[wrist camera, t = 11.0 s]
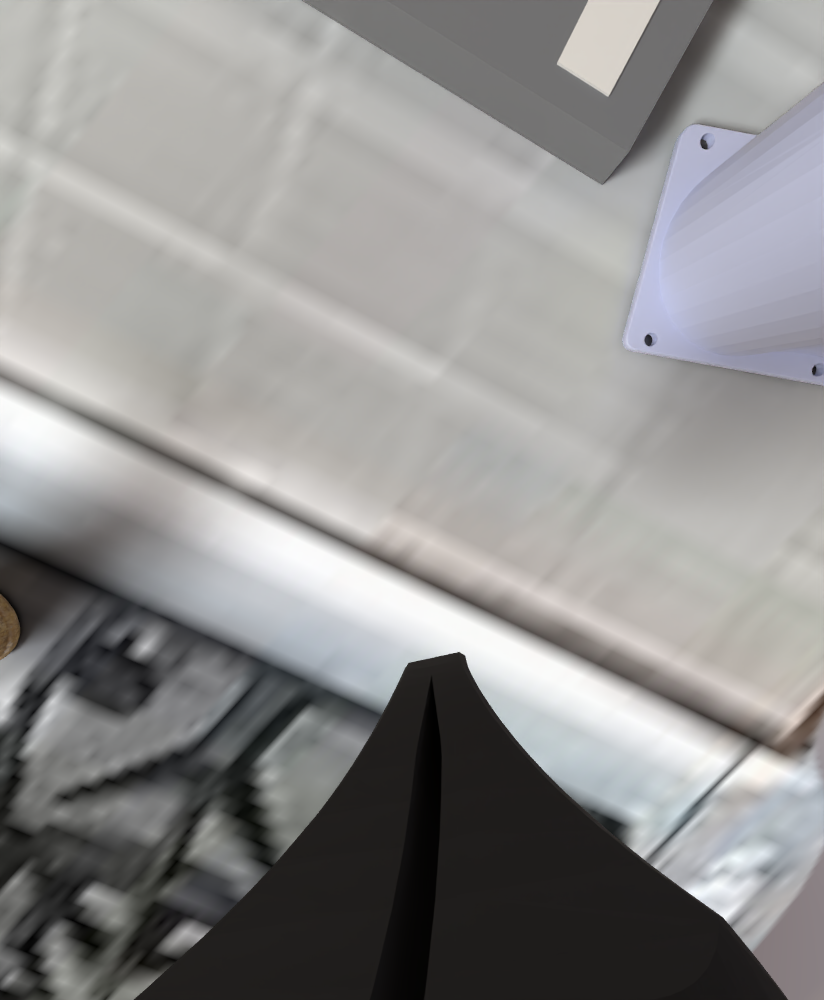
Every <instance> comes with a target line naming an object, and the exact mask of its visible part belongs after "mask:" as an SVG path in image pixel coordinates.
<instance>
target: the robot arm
mask: <svg viewBox="0 0 824 1000" xmlns="http://www.w3.org/2000/svg"><path fill="white" fill-rule="evenodd" d="M702 139H703V140H705V141H706V142H707V144H708V149H706V150H705V149H703V148H702V147H701V145H700V140H702ZM647 334H648V335H650V336H651V337H652V343H651V345H650V346H647V345H646V344H645V342H644V338H645V336H646V335H647ZM622 342H623V345H624V347H625V348H626V349H627V350H630V351H633V352H638V353H644V354H650V355H655V356H661V357H666V358H672V359H677V360H683V361H688V362H694V363H699V364H705V365H711V366H716V367H722V368H727V369H733V370H738V371H744V372H749V373H755V374H760V375H766V376H772V377H777V378H783V379H788V380H794V381H799V382H805V383H810V384H816V385H821V386H824V82H823V83H822V84H820V85H819V86H818V87H817V88H816V89H814V90H813V91H812V92H811V93H809V94H808V95H807V96H806V97H804V98H803V99H802V100H801V101H799V102H798V103H797V104H796V105H794V106H793V107H792V108H791V109H789V110H788V111H787V112H786V113H784V114H783V115H782V116H781V117H780V118H778V119H777V120H776V121H775V122H773V123H772V124H771V125H770V126H768V127H767V128H766V129H765V130H763V131H762V132H761V133H760V134H758V135H755V134H749V133H744V132H739V131H733V130H728V129H723V128H717V127H712V126H707V125H701V124H692V125H690V126H688V127H686V128H685V130H684V131H683V132H682V133H681V134H680V135H679V136H678V138H677V140H676V142H675V146H674V149H673V153H672V157H671V160H670V164H669V168H668V172H667V175H666V179H665V183H664V186H663V190H662V194H661V197H660V201H659V205H658V208H657V212H656V216H655V220H654V223H653V227H652V231H651V234H650V238H649V242H648V245H647V249H646V253H645V256H644V260H643V264H642V268H641V271H640V275H639V279H638V282H637V286H636V290H635V293H634V297H633V301H632V304H631V308H630V312H629V316H628V319H627V323H626V327H625V330H624V334H623V341H622ZM814 365H815V366H816V368H817V369H816V373H815V374H814V375H813V374H812V368H813V367H814ZM134 1000H788V999H787V998H786V996H785V995H784V993H783V992H782V991H781V990H780V988H779V987H778V985H777V984H776V983H775V982H774V980H773V979H772V978H771V976H770V975H769V974H768V972H767V971H766V970H765V969H764V967H763V966H762V965H761V964H760V962H759V961H758V960H757V958H756V957H755V956H754V955H753V953H752V952H751V951H750V950H749V949H748V947H747V946H746V945H745V944H744V942H743V941H742V940H741V939H740V937H739V936H738V935H737V934H736V933H735V931H734V930H733V929H732V928H731V927H730V925H729V924H728V923H727V922H726V921H725V919H724V918H723V917H721V916H720V915H719V914H717V913H716V912H715V911H713V910H712V909H710V908H709V907H707V906H706V905H705V904H703V903H702V902H700V901H699V900H698V899H696V898H695V897H693V896H692V895H691V894H689V893H688V892H686V891H685V890H684V889H682V888H681V887H679V886H678V885H677V884H675V883H674V882H673V881H671V880H670V879H669V878H667V877H666V876H665V875H663V874H662V873H661V872H659V871H658V870H657V869H655V868H654V867H653V866H651V865H650V864H649V863H647V862H646V861H645V860H644V859H642V858H641V857H640V856H639V855H637V854H636V853H635V852H634V851H632V850H631V849H630V848H629V847H627V846H626V845H625V844H624V843H622V842H621V841H620V840H619V839H617V838H616V837H615V836H614V835H612V834H611V833H610V832H609V831H608V830H607V829H606V828H605V827H603V826H602V825H601V824H600V823H599V822H598V821H597V820H596V819H594V818H593V817H592V816H591V815H590V814H589V813H588V812H587V811H585V810H584V809H583V808H582V807H581V806H580V805H579V804H578V803H576V802H575V801H574V800H573V799H572V798H571V797H570V796H569V795H567V794H566V793H565V792H564V791H563V790H562V789H561V788H560V787H559V786H558V785H557V784H556V783H555V782H554V781H553V780H552V779H551V778H550V777H549V776H548V775H547V774H546V773H545V772H544V771H543V770H542V768H541V767H540V766H539V765H538V764H537V763H536V762H535V761H534V760H533V759H532V758H531V757H530V756H529V754H528V753H527V752H526V751H525V750H524V749H523V748H522V746H521V745H520V744H519V743H518V742H517V740H516V739H515V738H514V737H513V735H512V734H511V733H510V732H509V730H508V729H507V728H506V727H505V725H504V724H503V723H502V721H501V720H500V719H499V717H498V716H497V715H496V713H495V712H494V710H493V709H492V707H491V706H490V705H489V703H488V702H487V700H486V699H485V697H484V696H483V694H482V692H481V691H480V689H479V688H478V686H477V684H476V682H475V680H474V678H473V677H472V675H471V673H470V670H469V668H468V665H467V661H466V658H465V655H463V654H461V653H460V652H457V653H453V654H448V655H444V656H439V657H434V658H430V659H425V660H420V661H416V662H411V663H408V665H407V666H406V668H405V670H404V672H403V674H402V676H401V678H400V680H399V683H398V685H397V687H396V689H395V691H394V693H393V695H392V697H391V699H390V701H389V703H388V705H387V707H386V708H385V710H384V712H383V714H382V716H381V718H380V719H379V721H378V723H377V725H376V727H375V729H374V730H373V732H372V734H371V736H370V737H369V739H368V741H367V742H366V744H365V745H364V747H363V749H362V750H361V752H360V754H359V755H358V757H357V758H356V760H355V762H354V763H353V765H352V767H351V768H350V770H349V771H348V773H347V774H346V776H345V777H344V778H343V780H342V781H341V783H340V784H339V786H338V787H337V789H336V790H335V791H334V793H333V794H332V795H331V797H330V798H329V800H328V801H327V802H326V804H325V805H324V806H323V808H322V809H321V810H320V811H319V813H318V814H317V815H316V817H315V818H314V819H313V820H312V821H311V822H310V824H309V825H308V826H307V827H306V828H305V829H304V831H303V832H302V833H301V834H300V835H299V837H298V838H297V839H296V840H295V841H294V842H293V844H292V845H291V846H290V847H289V848H288V849H287V851H286V852H285V853H284V854H283V855H282V857H281V858H280V859H279V860H278V861H277V862H276V863H275V865H274V866H273V867H272V868H271V869H270V870H269V871H268V872H267V873H266V874H265V875H264V876H263V877H262V878H261V880H260V881H259V882H258V883H257V884H256V885H255V886H254V887H253V888H252V889H251V890H250V891H249V892H248V893H247V894H246V895H245V896H244V897H243V898H242V899H241V900H240V901H239V902H238V903H237V904H236V905H235V906H234V907H233V908H232V909H231V910H230V911H229V912H228V913H227V914H226V915H225V916H224V917H223V918H222V919H221V920H220V921H219V922H218V923H217V924H216V925H215V926H214V927H213V928H212V929H211V930H210V931H209V932H208V933H207V934H206V935H205V936H204V937H203V938H202V939H200V940H199V941H198V942H197V943H196V944H195V945H194V946H193V947H192V948H191V949H189V950H188V951H187V952H186V953H185V954H184V955H183V956H182V957H181V958H180V959H178V960H177V961H176V962H175V963H174V964H173V965H172V966H171V967H170V968H169V969H167V970H166V971H165V972H164V973H163V974H162V975H161V976H160V977H159V978H158V979H156V980H155V981H154V982H153V983H152V984H151V985H150V986H149V987H148V988H147V989H145V990H144V991H143V992H142V993H141V994H140V995H139V996H137V997H136V998H135V999H134Z"/></svg>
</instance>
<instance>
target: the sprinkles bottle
mask: <svg viewBox="0 0 824 1000" xmlns="http://www.w3.org/2000/svg"><path fill="white" fill-rule="evenodd" d="M19 636H20V625H19V621H18V618H17V615H16V613H15V611H14V609H13V608H12V606H11V605H10V604H9V603H8V601H7V600H6V599H5V598H4V597H3V596H2V595H1V594H0V660H1V659H3V658H4V657H6V656H7V655H8V654H9V653H10V652H11V651H12V650H13V649H14V648H15V646H16V645H17V643H18V639H19Z"/></svg>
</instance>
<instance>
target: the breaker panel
mask: <svg viewBox="0 0 824 1000" xmlns="http://www.w3.org/2000/svg"><path fill="white" fill-rule="evenodd" d="M302 1H304V2H305V3H307V4H309V5H310V6H312V7H314V8H315V9H317V10H318V11H320V12H322V13H323V14H325V15H327V16H328V17H330V18H332V19H333V20H335V21H336V22H338V23H340V24H341V25H343V26H345V27H346V28H348V29H349V30H351V31H353V32H354V33H356V34H358V35H359V36H361V37H362V38H364V39H366V40H367V41H369V42H371V43H372V44H374V45H375V46H377V47H379V48H380V49H382V50H384V51H385V52H387V53H388V54H390V55H392V56H393V57H395V58H397V59H398V60H400V61H401V62H403V63H405V64H406V65H408V66H410V67H411V68H413V69H415V70H416V71H418V72H419V73H421V74H423V75H424V76H426V77H428V78H429V79H431V80H432V81H434V82H436V83H437V84H439V85H441V86H442V87H444V88H445V89H447V90H449V91H450V92H452V93H454V94H455V95H457V96H458V97H460V98H462V99H463V100H465V101H467V102H468V103H470V104H471V105H473V106H475V107H476V108H478V109H480V110H481V111H483V112H484V113H486V114H488V115H489V116H491V117H493V118H494V119H496V120H497V121H499V122H501V123H502V124H504V125H506V126H507V127H509V128H511V129H512V130H514V131H515V132H517V133H519V134H520V135H522V136H524V137H525V138H527V139H528V140H530V141H532V142H533V143H535V144H537V145H538V146H540V147H541V148H543V149H545V150H546V151H548V152H550V153H551V154H553V155H554V156H556V157H558V158H559V159H561V160H563V161H564V162H566V163H567V164H569V165H571V166H572V167H574V168H576V169H577V170H579V171H580V172H582V173H584V174H585V175H587V176H589V177H590V178H592V179H594V180H595V181H597V182H598V183H600V184H603V183H604V182H605V181H606V180H607V178H608V177H609V176H610V175H611V173H612V172H613V171H614V170H615V169H616V167H617V166H618V165H619V164H620V162H621V161H622V160H623V159H624V157H625V156H626V155H627V154H628V153H629V151H630V149H631V147H632V146H633V144H634V142H635V140H636V138H637V137H638V135H639V133H640V131H641V129H642V128H643V126H644V124H645V122H646V120H647V119H648V117H649V115H650V113H651V112H652V110H653V108H654V106H655V104H656V103H657V101H658V99H659V97H660V95H661V94H662V92H663V90H664V88H665V86H666V85H667V83H668V81H669V79H670V77H671V76H672V74H673V72H674V70H675V68H676V67H677V65H678V63H679V61H680V59H681V58H682V56H683V54H684V52H685V50H686V49H687V47H688V45H689V43H690V41H691V40H692V38H693V36H694V34H695V32H696V31H697V29H698V27H699V25H700V23H701V22H702V20H703V18H704V16H705V15H706V13H707V11H708V9H709V7H710V6H711V4H712V2H713V0H302Z"/></svg>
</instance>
